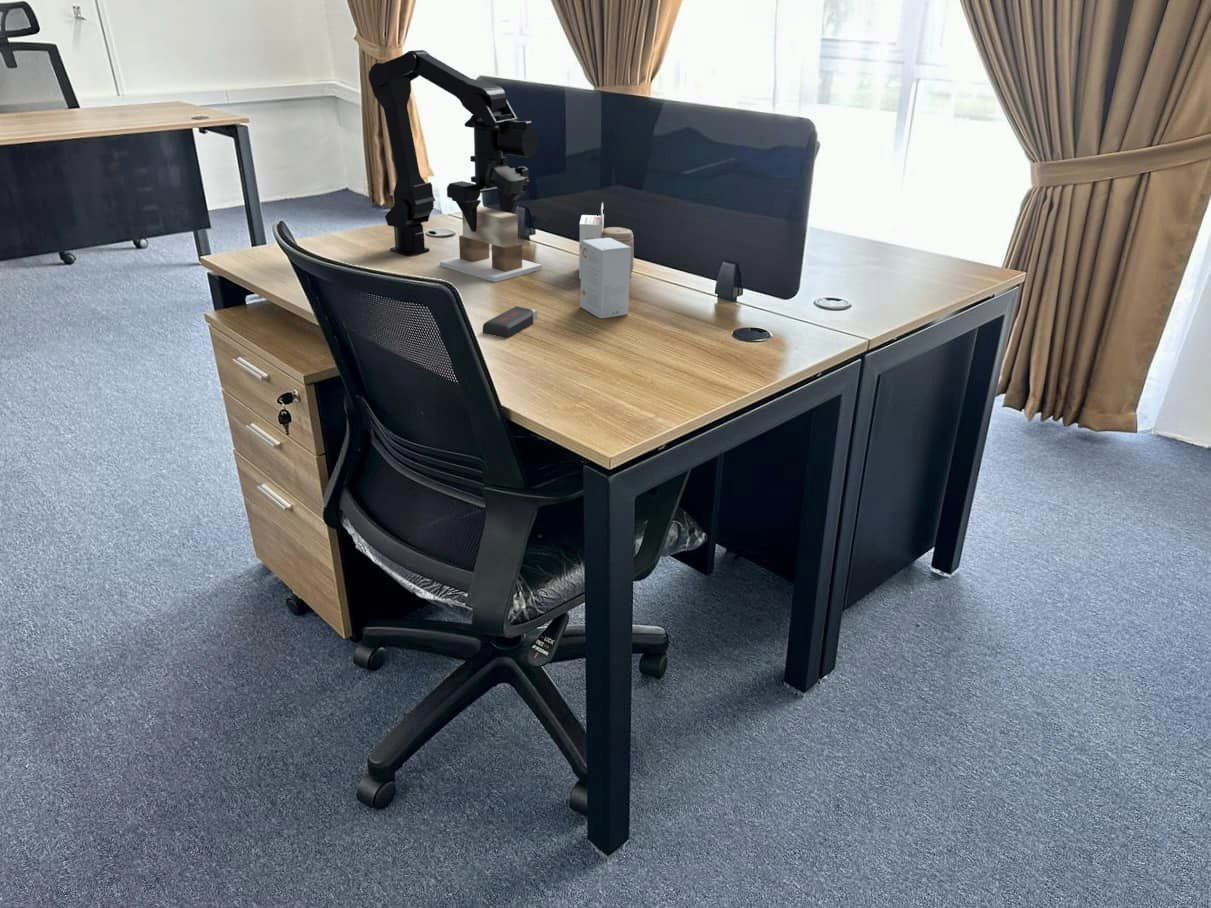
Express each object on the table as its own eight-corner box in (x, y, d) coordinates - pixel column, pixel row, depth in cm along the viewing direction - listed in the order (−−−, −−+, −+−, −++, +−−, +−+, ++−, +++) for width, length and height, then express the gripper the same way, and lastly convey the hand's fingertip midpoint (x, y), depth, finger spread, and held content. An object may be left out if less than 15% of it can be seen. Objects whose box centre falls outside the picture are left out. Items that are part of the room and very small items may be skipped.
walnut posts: (459, 258, 204) (459, 235, 202) (476, 254, 208) (476, 232, 206) (505, 271, 197) (505, 248, 194) (522, 267, 200) (522, 244, 198)
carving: (638, 290, 192) (641, 231, 186) (605, 294, 188) (607, 234, 183) (623, 281, 197) (625, 224, 191) (591, 285, 193) (592, 227, 188)
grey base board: (439, 265, 203) (439, 261, 202) (486, 254, 212) (486, 249, 212) (495, 282, 193) (494, 277, 193) (541, 269, 203) (541, 264, 202)
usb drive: (482, 335, 166) (482, 320, 165) (517, 316, 176) (517, 302, 174) (507, 340, 164) (507, 325, 163) (541, 321, 174) (541, 307, 172)
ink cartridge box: (579, 268, 205) (581, 199, 198) (602, 269, 205) (604, 200, 198) (577, 279, 197) (579, 208, 191) (601, 280, 197) (603, 209, 191)
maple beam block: (463, 236, 202) (462, 208, 199) (478, 233, 205) (477, 205, 202) (502, 247, 195) (502, 218, 192) (517, 243, 198) (517, 214, 195)
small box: (628, 315, 177) (632, 246, 172) (599, 319, 175) (601, 250, 169) (607, 302, 184) (610, 236, 178) (579, 306, 181) (580, 239, 175)
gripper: (482, 162, 181) (484, 242, 188) (548, 152, 194) (547, 228, 201) (443, 154, 187) (446, 232, 194) (510, 145, 200) (510, 218, 207)
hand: (489, 228), depth 199 cm, fingers open, 9 cm apart
